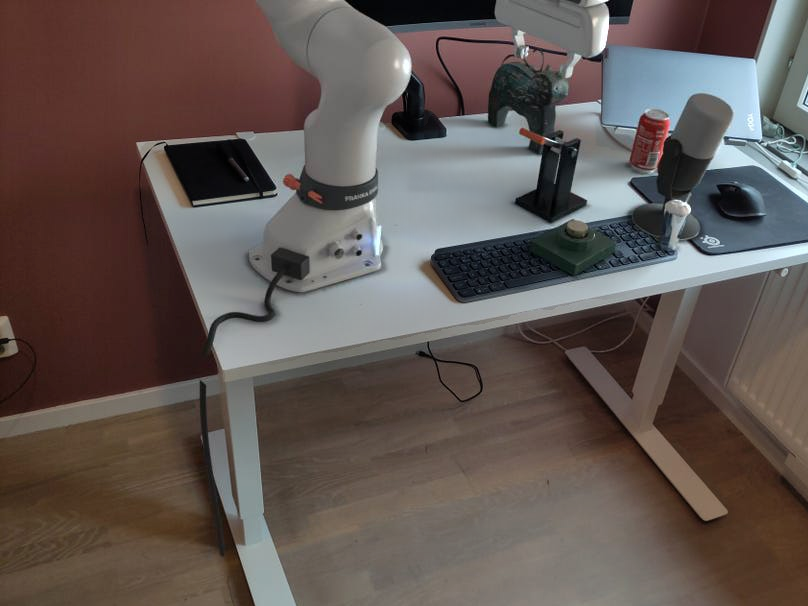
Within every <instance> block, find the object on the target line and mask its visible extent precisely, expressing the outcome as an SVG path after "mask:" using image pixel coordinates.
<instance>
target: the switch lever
mask: <svg viewBox="0 0 808 606" xmlns="http://www.w3.org/2000/svg"><path fill="white" fill-rule="evenodd" d="M518 133H519V135H521V136H523V137H524V138H527V139H529V140H530V139H531V140H533V141H535V142H537V143H539V144H541V145H543V144H546V145H548V146H551V150H552V151H554V152H556V153H558V154H560V153H561V148H562V144H564V143H566V142H568V141H567V140H565V139H560V138H557V137H556V138H555V140H554V141H553V140H550V139H548V138H545V137H542V136H540V135H537V134H535V133H533V132H531V131H530V129H527V128H525V127H521V128H520V129H519V131H518Z"/></svg>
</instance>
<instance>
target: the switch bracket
mask: <svg viewBox="0 0 808 606" xmlns="http://www.w3.org/2000/svg"><path fill="white" fill-rule="evenodd" d="M564 133H565V131H563V130H561V129H559V130H556V131H554V132H553V133H551V134H548V135H546V136H545V138H548V139H550V140H553V141H554V140H555V138H556V137H557V138H560V139H562V140H564ZM581 142H582V139H580V138H578V137H576V138H574V139H571V140H569V141H567V142H566V143H564V144H562V148H561V153H560V154H558V153H556V152H554V151H552V150H551V146H548V145H546V144H544V145H543V151H542V154H541V159H540V164H539V170H538V176H537V181H536V187H535V189H533V190H531V191H529V192H526V193H524V194H522V195H519V196H517V197H516V198H515V200H514V204H515V206H518V207H520V208H522V209H523V210H525V211H527V212H529V213H531V214H533V215H535V216H536V217H538V218H540V219H542V220H544V221H545V222H547V223H549V224H553V223H555V222H557V221H559V220H561V219H563V218H565V217H567V216H569V215H571V214H573V213H575V212H576V211H578V210H581V209H583V208H584V207H587V204H588V199H585V198H584V197H582V196H580V195H578V194H576V193H574V192H572V187H573V182H574V177H575V172H576V169H577V168H576V167H577V163H578V157H579V152H580V147H581Z"/></svg>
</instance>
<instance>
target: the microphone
mask: <svg viewBox="0 0 808 606" xmlns="http://www.w3.org/2000/svg"><path fill="white" fill-rule="evenodd" d="M734 119H735V111H734V109H733V108H732V107H731V106H730V104H729V103H728V102H726V100H723V99H722V98H720V97H719V96H715V95H713V94H709V93H704V92H699V93H694V94H692V95H690V97H688V99H687V101H686V104H685V106H684V108H683V110H682V111H681V114H680V116H679V118H678V120H677V122H676V124H675V126H674V129H673V130H672V133H671V134H670V135H669V136H667V138H666V140H665V141H664V146H663V153H662V156H661V158H660V160H659V162H658V166H657V169H656V173H657V178H656V181H655V182H656V188H657V193H658V194H659V195H660V196H663V197H664V202H663V203H658V202H657V203H656V202H653V203H652V202H651V203H645V204H641V205H639V206H637V207H635V208H634V209H633V211H632V214H631V220H632V222H633V224H634V225H635V226H636V228H638V229H639V230H640V231H642V232H643V233H645V234H647V235H649V236H651V237H654V238H657V239H659V236H660V231H661V226H662V221H663V215H664V209H665V204H666V203H667V202H669V201H671V200H680V201H681V199H682V198H685V197H688V195H689V193H690V194H691V193H692V191H693V189H694V188H696V187H697V186H698V185H699V184H700V183H701V181H702V179H703V177H704V176H705V173H706V172H707V170H708V168H709V166H710V165H711V162H712V161H713V160H714V158H715V156H716V153H717V152H718V149H719V148H720V145H721V144H722V142H723V140H724V139H725V136H726V134H727V132H728V131H729V129H730V127H731V125H732V123H733V121H734ZM700 229H701V225H700V222H699V220H698V219H697V218H696V217H695V216H694V215H693V214H692V213H690V214H689V216H688V219H687V221H686V223H685V226H684V228H683V231H682V233H681V236H680V238H679V241H678V242H684V241H689V240H691V239H694V238H695V237H697V236H698V234H699V233H700Z"/></svg>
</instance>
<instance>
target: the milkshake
mask: <svg viewBox="0 0 808 606" xmlns="http://www.w3.org/2000/svg"><path fill="white" fill-rule="evenodd" d="M691 197H692V193H691V192H690V193H689V194H688V195H687V196H686V199H685V201H682V200H681V199H680V200H671V201H669V202H667V203H666V204H665V209H664V215H663V221H662V226H661V231H660V236H659V238H658V242H657V247H658V248H659V249H660V250H661V251H665V252H673V251H676V249H677V246H678V244H679V242H680V241H679V238H680V236H681V233H682V231H683V228H684V226H685V223H686V221H687V219H688V216H689V214H691V212H692V211H691V210H692V209H691V206H690V204H688V202H689V201H690V198H691Z"/></svg>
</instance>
